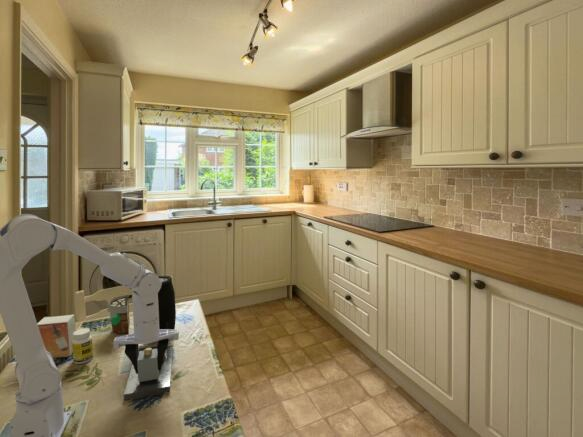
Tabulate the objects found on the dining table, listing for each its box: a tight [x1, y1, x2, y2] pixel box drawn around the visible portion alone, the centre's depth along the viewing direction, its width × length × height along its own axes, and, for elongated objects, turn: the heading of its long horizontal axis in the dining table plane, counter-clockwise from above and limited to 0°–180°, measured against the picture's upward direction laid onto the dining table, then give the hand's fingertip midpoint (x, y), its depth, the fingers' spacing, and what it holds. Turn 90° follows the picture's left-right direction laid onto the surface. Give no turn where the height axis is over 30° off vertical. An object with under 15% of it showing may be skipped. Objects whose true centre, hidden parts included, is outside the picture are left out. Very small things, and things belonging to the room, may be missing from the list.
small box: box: [37, 314, 77, 359], centre depth 94 cm, size 8×6×10 cm
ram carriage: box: [139, 341, 164, 362], centre depth 89 cm, size 7×6×6 cm
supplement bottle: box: [72, 328, 94, 365], centre depth 90 cm, size 5×5×8 cm
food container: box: [106, 294, 131, 336], centre depth 108 cm, size 12×6×10 cm, turn 25°
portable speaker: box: [158, 275, 177, 330], centre depth 103 cm, size 9×9×20 cm
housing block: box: [137, 348, 159, 382], centre depth 80 cm, size 4×4×7 cm
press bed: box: [123, 344, 174, 401], centre depth 85 cm, size 20×10×3 cm, turn 18°
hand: (149, 369), depth 80 cm, fingers closed on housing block, 4 cm apart
